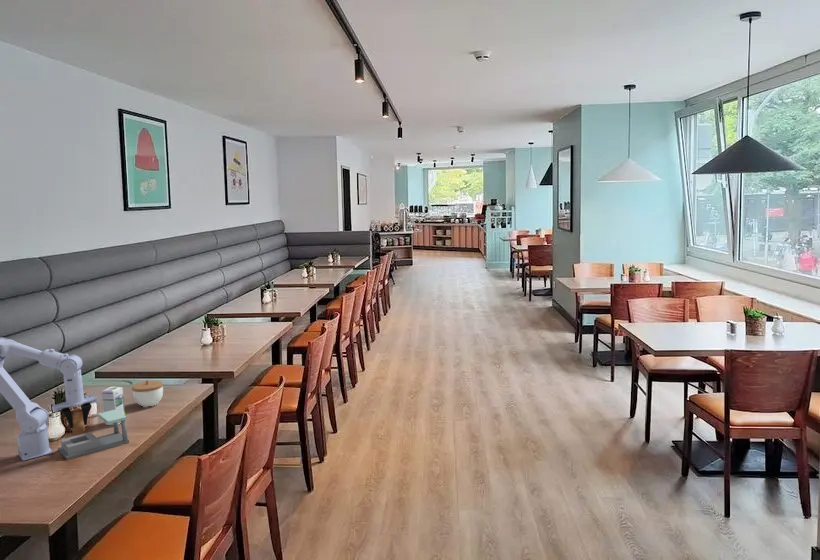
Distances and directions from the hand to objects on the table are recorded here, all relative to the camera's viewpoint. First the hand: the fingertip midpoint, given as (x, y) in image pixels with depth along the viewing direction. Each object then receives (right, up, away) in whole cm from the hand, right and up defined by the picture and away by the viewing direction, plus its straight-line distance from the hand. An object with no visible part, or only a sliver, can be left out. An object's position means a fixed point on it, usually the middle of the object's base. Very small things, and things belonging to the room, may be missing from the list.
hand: (78, 425), depth 225 cm
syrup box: (0, -6, +28) cm, 29 cm away
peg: (0, -2, 0) cm, 2 cm away
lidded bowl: (+5, -3, +49) cm, 50 cm away
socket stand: (+4, -9, +4) cm, 10 cm away
